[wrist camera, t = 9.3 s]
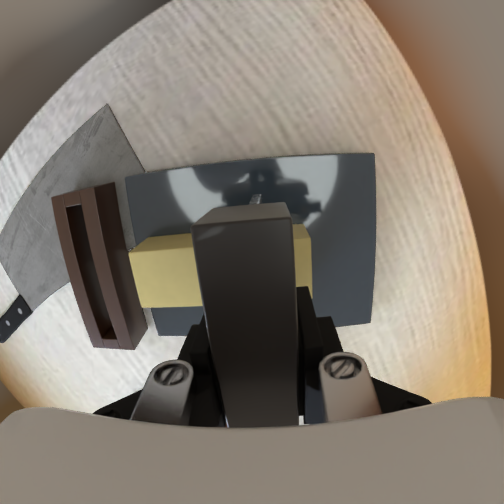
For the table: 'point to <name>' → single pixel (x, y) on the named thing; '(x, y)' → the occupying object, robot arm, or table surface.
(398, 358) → the table surface
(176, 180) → the butter dish
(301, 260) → the butter slice
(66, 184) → the cleaver
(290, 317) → the bench scraper
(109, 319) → the block
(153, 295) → the butter stick
